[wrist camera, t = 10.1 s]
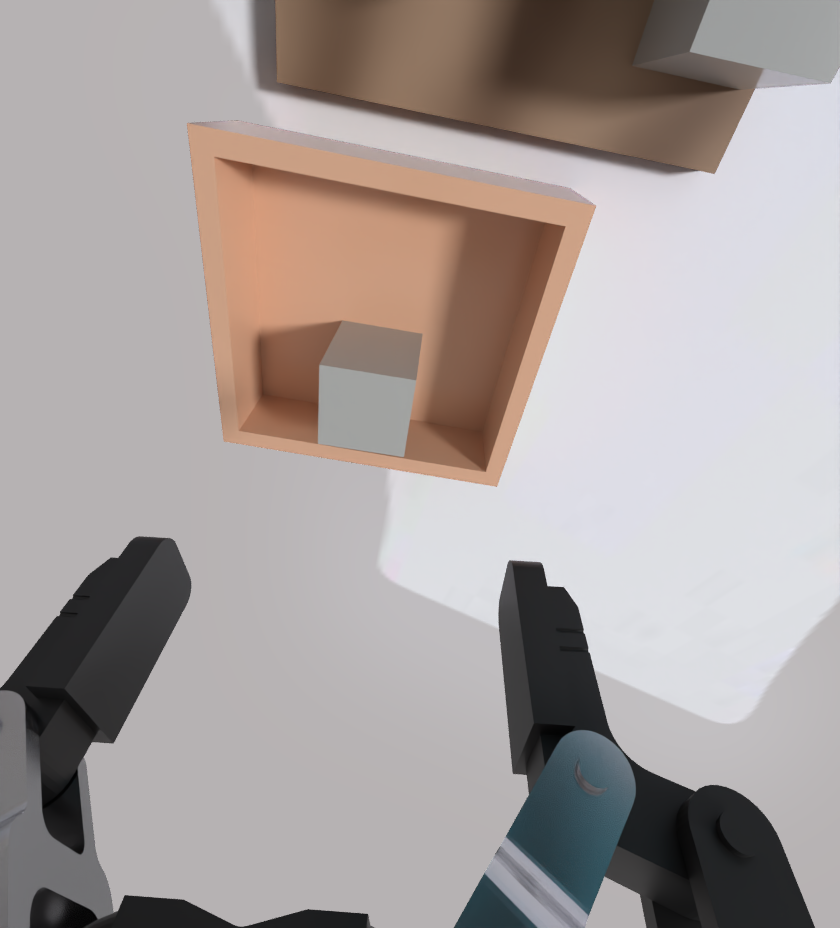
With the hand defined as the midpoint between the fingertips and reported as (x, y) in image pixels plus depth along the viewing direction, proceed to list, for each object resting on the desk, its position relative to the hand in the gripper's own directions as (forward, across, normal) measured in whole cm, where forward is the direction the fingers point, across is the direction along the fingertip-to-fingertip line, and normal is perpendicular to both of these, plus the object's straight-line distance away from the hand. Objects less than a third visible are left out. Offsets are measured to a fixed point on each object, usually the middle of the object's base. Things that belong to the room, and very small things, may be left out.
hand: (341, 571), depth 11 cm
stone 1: (+15, +1, +2) cm, 15 cm away
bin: (+16, 0, -1) cm, 16 cm away
